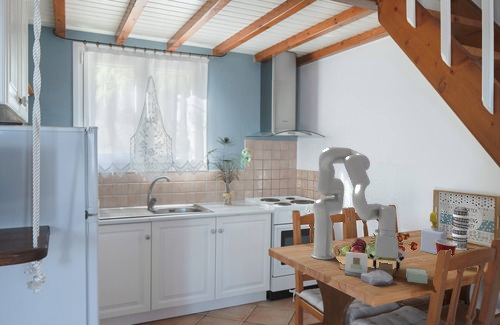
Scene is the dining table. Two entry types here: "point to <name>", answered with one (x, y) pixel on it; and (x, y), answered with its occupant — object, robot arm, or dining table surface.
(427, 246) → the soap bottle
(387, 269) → the walnut block
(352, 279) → the dining table surface
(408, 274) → the sage block
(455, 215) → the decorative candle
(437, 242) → the plastic cup
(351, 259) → the picture card
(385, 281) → the stone block
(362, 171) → the robot arm
